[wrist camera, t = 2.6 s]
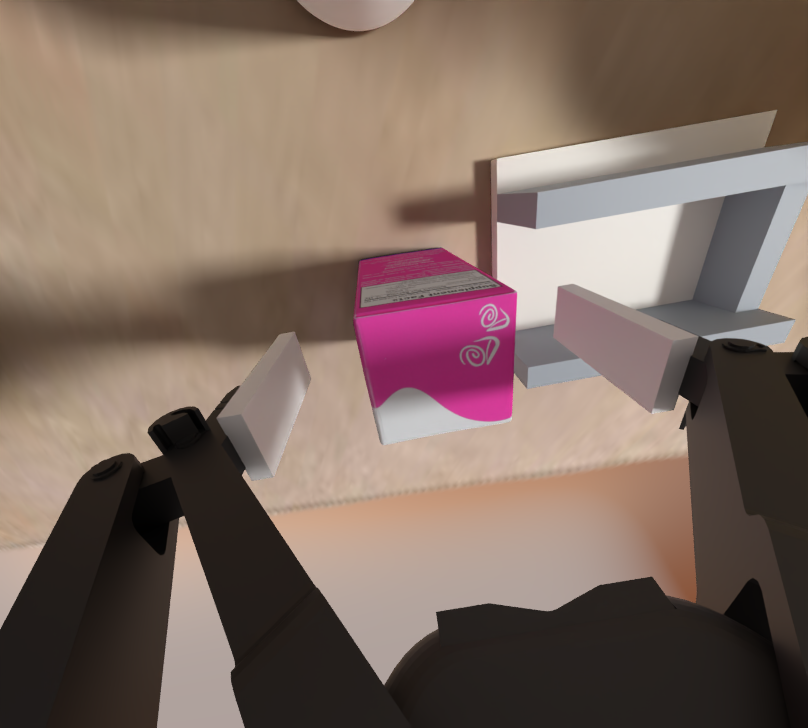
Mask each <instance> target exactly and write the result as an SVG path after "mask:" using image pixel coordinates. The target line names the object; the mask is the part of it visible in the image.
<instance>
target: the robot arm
mask: <svg viewBox="0 0 808 728" xmlns="http://www.w3.org/2000/svg"><path fill="white" fill-rule="evenodd" d="M553 338H555V339H556V340H557V341H558V342H560V343H561V344H562V345H564V346H565V347H566V348H567V349H569V350H570V351H571V352H573V353H574V354H575V355H576V356H578V357H579V358H580V359H582V360H583V361H584V362H586V363H587V364H588V365H589V366H591V367H592V368H593V369H595V370H596V371H597V372H598V373H600V374H601V375H602V376H604V377H605V378H606V379H607V380H609V381H610V382H611V383H613V384H614V385H615V386H616V387H618V388H619V389H620V390H622V391H623V392H624V393H625V394H627V395H628V396H629V397H631V398H632V399H633V400H634V401H636V402H637V403H638V404H640V405H641V406H642V407H643V408H645V409H646V410H647V411H649V412H650V413H651V414H653V413H659V412H665V411H671V410H674V408H675V405H676V402H677V399H678V396H679V395H681V396H682V397H684V398H685V399H687V400H689V403H688V406H687V408H686V411H685V414H684V417H683V419H682V422H681V425H680V428H679V429H683V430H684V428H685V426H687V441H688V457H689V472H690V487H691V488H690V489H691V504H692V520H693V535H694V552H695V568H696V581H697V582H696V583H697V598H696V603H692V602H690V601H687V600H683V599H679V598H675V597H671V596H666V595H665V594H664V592H663V591H662V590H661V588H660V587H659V585H658V584H657V583H656V581H655V580H654V579H653V577H647V578H641V579H635V580H629V581H623V582H616V583H611V584H604V585H599V586H597V587H595V588H593V589H592V590H590V591H588V592H586V593H585V594H583V595H581V596H579V597H577V598H576V599H574V600H572V601H571V602H569V603H567V604H565V605H563V606H561V607H560V608H558V609H556V610H553V611H540V610H532V609H525V608H518V607H511V606H503V605H496V604H482V605H476V606H470V607H464V608H458V609H452V610H446V611H440V612H436V615H437V621H438V629H437V630H436V631H434V632H432V633H430V634H429V635H427V636H426V637H424V638H423V639H422V640H420V641H419V642H418V643H416V644H415V645H414V646H413V647H412V648H411V649H410V650H409V651H408V652H407V653H406V654H405V655H404V657H403V658H402V659H401V661H400V662H399V663H398V664H397V666H396V667H395V668H394V670H393V672H392V673H391V675H390V677H389V679H388V680H387V682H386V683H385V685H383V684H382V682H381V681H380V679H379V678H378V676H377V675H376V673H375V672H374V670H373V669H372V667H371V666H370V664H369V663H368V661H367V660H366V658H365V657H364V655H363V654H362V652H361V651H360V649H359V648H358V646H357V645H356V643H355V642H354V640H353V639H352V637H351V636H350V635H349V633H348V631H347V630H346V628H345V627H344V625H343V624H342V622H341V621H340V620H339V618H338V617H337V615H336V614H335V612H334V611H333V609H332V608H331V606H330V605H329V604H328V602H327V600H326V599H325V597H324V596H323V594H322V593H321V592H320V590H319V589H318V588H316V586H315V585H314V584H313V582H312V581H311V579H310V578H309V576H308V575H307V573H306V572H305V570H304V569H303V567H302V566H301V564H300V563H299V561H298V560H297V558H296V557H295V555H294V554H293V552H292V551H291V549H290V548H289V546H288V545H287V543H286V542H285V540H284V539H283V537H282V536H281V534H280V533H279V531H278V530H277V528H276V527H275V525H274V524H273V522H272V521H271V519H270V518H269V516H268V515H267V513H266V512H265V510H264V509H263V507H262V506H261V504H260V503H259V501H258V500H257V498H256V497H255V495H254V494H253V492H252V491H251V489H250V488H249V486H248V485H247V483H246V482H245V480H244V479H243V477H242V474H243V472H244V470H246V471H247V473H248V475H249V477H250V478H251V480H252V481H254V480H260V479H266V478H272V477H274V475H275V473H276V470H277V467H278V465H279V462H280V459H281V457H282V454H283V452H284V449H285V446H286V444H287V441H288V438H289V436H290V433H291V431H292V428H293V425H294V423H295V420H296V417H297V415H298V412H299V410H300V407H301V404H302V402H303V399H304V396H305V394H306V391H307V389H308V386H309V383H310V381H311V376H310V374H309V371H308V368H307V365H306V362H305V359H304V356H303V354H302V351H301V348H300V345H299V342H298V339H297V336H296V334H295V332H289V333H283V334H279V336H278V337H277V338H276V339H275V341H274V342H273V343H272V345H271V346H270V347H269V349H268V350H267V351H266V353H265V354H264V355H263V357H262V358H261V359H260V361H259V362H258V363H257V365H256V366H255V367H254V369H253V370H252V371H251V373H250V374H249V375H248V377H247V378H246V379H245V381H244V382H243V383H242V385H241V386H237V387H236V388H234V389H233V390H231V391H230V392H229V393H227V394H226V396H225V397H224V398H223V399H222V401H221V402H220V404H218V406H217V407H216V408H215V410H214V411H213V412H212V413H211V415H210V416H209V417H208V418H207V420H205V419H204V417H203V415H202V414H201V412H200V410H199V409H198V408H196V407H184V408H180V409H177V410H175V411H172V412H170V413H168V414H166V415H164V416H162V417H161V418H159V419H158V420H156V421H155V422H154V423H153V424H152V425H151V426H150V427H149V429H148V434H149V435H150V437H151V438H152V440H153V441H154V442H155V444H156V445H157V446H158V448H159V449H160V451H161V452H162V453H163V455H162V456H160V457H157V458H154V459H151V460H149V461H146V462H143V463H140V462H139V461H138V460H137V458H136V457H135V456H134V455H133V454H130V453H127V454H120V455H117V456H114V457H111V458H109V459H107V460H103V461H101V462H100V463H98V464H96V465H95V466H93V467H92V468H91V469H90V470H89V471H88V472H87V473H85V474H84V475H83V476H82V477H81V479H80V480H79V481H78V483H77V485H76V487H75V488H74V490H73V492H72V494H71V496H70V498H69V500H68V502H67V504H66V506H65V507H64V509H63V511H62V513H61V515H60V517H59V519H58V521H57V523H56V525H55V526H54V528H53V530H52V532H51V534H50V536H49V538H48V540H47V542H46V544H45V545H44V547H43V549H42V551H41V553H40V555H39V557H38V559H37V561H36V563H35V564H34V566H33V568H32V570H31V572H30V574H29V576H28V578H27V580H26V582H25V584H24V585H23V587H22V589H21V591H20V593H19V595H18V597H17V599H16V601H15V603H14V604H13V606H12V608H11V610H10V612H9V614H8V616H7V618H6V620H5V621H4V623H3V625H2V627H1V629H0V728H157V721H158V711H159V702H160V692H161V683H162V673H163V664H164V655H165V645H166V635H167V627H168V617H169V608H170V599H171V598H170V597H171V589H172V579H173V570H174V561H175V552H176V543H177V533H178V524H179V518H180V517H182V516H185V519H186V521H187V524H188V527H189V530H190V533H191V536H192V539H193V542H194V544H195V547H196V550H197V553H198V556H199V559H200V562H201V565H202V567H203V570H204V573H205V576H206V579H207V581H208V585H209V588H210V590H211V593H212V596H213V599H214V602H215V604H216V607H217V610H218V613H219V616H220V619H221V622H222V625H223V627H224V631H225V633H226V636H227V639H228V642H229V645H230V648H231V651H232V654H233V657H234V660H235V668H234V669H233V670H232V671H231V683H232V687H233V691H234V695H235V698H236V701H237V704H238V707H239V711H240V714H241V717H242V720H243V723H244V726H245V728H808V337H805V338H802V339H801V340H800V342H799V343H798V345H797V347H796V349H795V351H794V352H773V351H772V350H771V349H770V348H769V347H768V346H765V345H764V344H761V343H758V342H754V341H750V340H745V339H737V338H722V339H716V340H713V341H710V340H708V339H705V338H703V337H700V336H698V335H696V334H693V333H691V332H689V331H686V330H682V329H681V328H679V327H677V326H674V325H671V324H669V323H667V322H665V321H662V320H660V319H656V318H654V317H651V316H649V315H647V314H644V313H642V312H639V311H637V310H635V309H632V308H630V307H627V306H625V305H623V304H620V303H618V302H616V301H613V300H611V299H608V298H606V297H604V296H601V295H599V294H597V293H594V292H592V291H589V290H587V289H585V288H582V287H580V286H578V285H575V284H569V285H563V286H558V290H557V301H556V312H555V323H554V334H553Z"/></svg>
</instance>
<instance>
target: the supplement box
mask: <svg viewBox="0 0 808 728" xmlns="http://www.w3.org/2000/svg"><path fill="white" fill-rule="evenodd" d="M516 311H517V291H516V290H514V289H512V288H510V287H509V286H507V285H505V284H504V283H502V282H500V281H498V280H497V279H495V278H493V277H491V276H490V275H488V274H486V273H484V272H483V271H481V270H480V269H478V268H476V267H474V266H472V265H471V264H469V263H467V262H465V261H464V260H462V259H460V258H459V257H457V256H455V255H453V254H452V253H450V252H448V251H447V250H445V249H443V248H435V249H428V250H421V251H414V252H408V253H401V254H394V255H387V256H381V257H374V258H368V259H363V260H360V261H359V269H358V280H357V288H356V297H355V307H354V318H353V323H354V329H355V334H356V340H357V344H358V349H359V353H360V358H361V363H362V367H363V372H364V376H365V380H366V385H367V389H368V393H369V397H370V401H371V405H372V410H373V414H374V418H375V423H376V427H377V431H378V435H379V439H380V442H381V444H382V445H388V444H392V443H398V442H402V441H407V440H412V439H417V438H422V437H427V436H432V435H437V434H443V433H448V432H454V431H460V430H466V429H472V428H478V427H483V426H489V425H495V424H501V423H506V422H510V421H511V419H512V400H513V377H514V353H515V332H516Z"/></svg>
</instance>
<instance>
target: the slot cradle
mask: <svg viewBox="0 0 808 728" xmlns="http://www.w3.org/2000/svg"><path fill="white" fill-rule="evenodd" d="M776 112H777V110H773V111H767V112H761V113H756V114H750V115H744V116H738V117H733V118H727V119H721V120H715V121H710V122H704V123H698V124H692V125H687V126H681V127H675V128H669V129H664V130H658V131H652V132H647V133H641V134H635V135H629V136H624V137H618V138H612V139H606V140H601V141H595V142H589V143H583V144H578V145H572V146H566V147H560V148H555V149H549V150H543V151H537V152H532V153H526V154H520V155H515V156H509V157H503V158H497V159H494V160H491V223H492V277H493V278H495V279H497V280H498V281H500V282H502V283H504V284H505V285H507V286H509V287H510V288H512V289H514V290H516V291H517V311H516V332H515V353H514V373H515V375H516V376H517V377H518V378H519V379H520V381H521V382H522V383H523V384H524V386H525V387H526V388H527V389H529V388H534V387H540V386H545V385H551V384H557V383H562V382H568V381H573V380H579V379H584V378H590V377H595V376H601V374H600V373H598V372H597V371H596V370H595V369H593V368H592V367H591V366H589V365H588V364H587V363H586V362H584V361H583V360H582V359H580V358H579V357H578V356H576V355H575V354H574V353H573V352H571V351H570V350H569V349H567V348H566V347H565V346H564V345H562V344H561V343H560V342H558V341H557V340H556V339H555V338H553V334H554V323H555V312H556V301H557V290H558V286H563V285H569V284H575V285H578V286H580V287H582V288H585V289H587V290H589V291H592V292H594V293H597V294H599V295H601V296H604V297H606V298H608V299H611V300H613V301H616V302H618V303H620V304H623V305H625V306H627V307H630V308H632V309H635V310H637V311H639V312H642V313H644V314H647V315H649V316H651V317H654V318H656V319H660V320H662V321H665V322H667V323H669V324H671V325H674V326H677V327H679V328H681V329H682V330H686V331H689V332H691V333H693V334H696V335H698V336H700V337H703V338H705V339H708V340H710V341H713V340H716V339H722V338H737V339H745V340H750V341H754V342H758V343H761V344H764V345H765V346H768V345H773V344H779V343H784V342H785V340H786V338H787V336H788V334H789V332H790V330H791V328H792V326H793V324H794V322H795V319H792V318H788V317H785V316H781V315H778V314H774V313H771V312H767V311H764V310H760V309H758V308H759V305H760V303H761V301H762V298H763V296H764V294H765V291H766V289H767V287H768V284H769V282H770V280H771V278H772V275H773V273H774V271H775V268H776V266H777V264H778V261H779V259H780V257H781V254H782V252H783V250H784V248H785V245H786V243H787V241H788V238H789V236H790V234H791V231H792V229H793V227H794V224H795V222H796V220H797V218H798V215H799V213H800V211H801V208H802V206H803V204H804V201H805V199H806V197H807V194H808V142H801V143H794V144H786V145H778V146H771V147H765V144H766V141H767V138H768V135H769V132H770V130H771V127H772V124H773V121H774V118H775V115H776Z"/></svg>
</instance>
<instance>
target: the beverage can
mask: <svg viewBox="0 0 808 728" xmlns="http://www.w3.org/2000/svg"><path fill="white" fill-rule="evenodd" d="M297 1H298V2H299V3H300V4H301V5H302V6H303V7H304V8H305V9H306V10H308V11H309V12H310V13H311V14H313V15H314V16H315V17H317V18H318V19H320V20H322V21H323V22H325V23H327V24H329V25H332V26H334V27H337V28H340V29H344V30H350V31H367V30H373V29H376V28H379V27H382V26H384V25H386V24H388V23H390V22H392V21H393V20H395V19H396V18H397V17H399V16H400V15H401V14H402V13H403V12H405V11H406V10H407V9H408V7H409V6H410V5H411V4H412V3H413V2H414V0H297Z"/></svg>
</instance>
